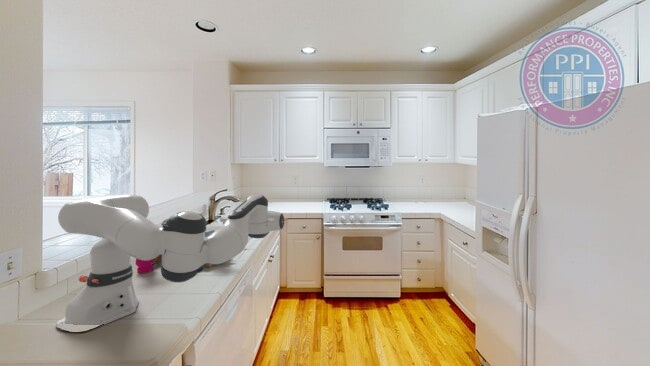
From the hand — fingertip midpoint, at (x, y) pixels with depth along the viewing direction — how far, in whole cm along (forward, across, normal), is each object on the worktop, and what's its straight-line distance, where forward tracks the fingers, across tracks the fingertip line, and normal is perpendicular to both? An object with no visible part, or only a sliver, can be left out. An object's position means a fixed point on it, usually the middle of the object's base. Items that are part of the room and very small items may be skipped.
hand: (227, 217), depth 147 cm
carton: (+12, 0, -23) cm, 26 cm away
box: (+12, 0, -23) cm, 26 cm away
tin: (+38, -8, -24) cm, 46 cm away
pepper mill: (+32, -20, -24) cm, 44 cm away
